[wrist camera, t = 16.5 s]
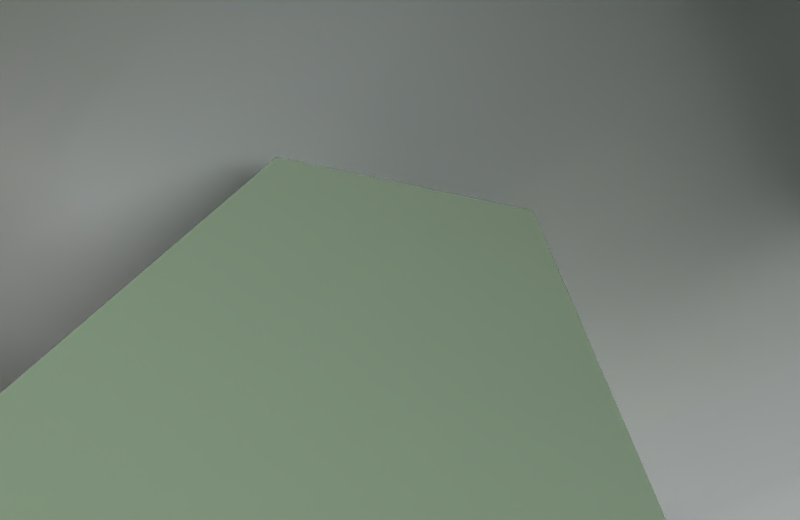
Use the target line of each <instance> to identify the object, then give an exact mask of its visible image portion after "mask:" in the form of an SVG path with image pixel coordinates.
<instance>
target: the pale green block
mask: <svg viewBox="0 0 800 520" xmlns="http://www.w3.org/2000/svg"><path fill="white" fill-rule="evenodd" d="M0 520H666V519H665V516H664V514H663V512H662V509H661V507H660V505H659V502H658V500H657V498H656V495H655V493H654V491H653V488H652V486H651V484H650V482H649V479H648V477H647V475H646V472H645V470H644V468H643V465H642V463H641V461H640V458H639V456H638V454H637V451H636V449H635V447H634V444H633V442H632V440H631V437H630V435H629V433H628V431H627V428H626V426H625V424H624V421H623V419H622V417H621V414H620V412H619V410H618V407H617V405H616V403H615V400H614V398H613V396H612V393H611V391H610V389H609V386H608V384H607V382H606V379H605V377H604V375H603V373H602V370H601V368H600V366H599V363H598V361H597V359H596V356H595V354H594V352H593V349H592V347H591V345H590V342H589V340H588V338H587V335H586V333H585V331H584V328H583V326H582V324H581V321H580V319H579V317H578V315H577V312H576V310H575V308H574V305H573V303H572V301H571V298H570V296H569V294H568V291H567V289H566V287H565V284H564V282H563V280H562V277H561V275H560V273H559V270H558V268H557V266H556V264H555V261H554V259H553V257H552V254H551V252H550V250H549V247H548V245H547V243H546V240H545V238H544V236H543V233H542V231H541V229H540V226H539V224H538V222H537V219H536V217H535V215H534V212H533V210H528V209H524V208H519V207H514V206H509V205H505V204H500V203H495V202H490V201H485V200H481V199H476V198H471V197H466V196H461V195H457V194H452V193H447V192H442V191H438V190H433V189H428V188H423V187H418V186H414V185H409V184H404V183H399V182H395V181H390V180H385V179H380V178H375V177H371V176H366V175H361V174H356V173H352V172H347V171H342V170H337V169H332V168H328V167H323V166H318V165H313V164H309V163H304V162H299V161H294V160H289V159H285V158H280V157H276V158H275V159H274V160H272V161H271V162H270V163H269V164H268V165H267V166H265V167H264V168H263V169H262V170H261V171H260V172H258V173H257V174H256V175H255V176H254V177H253V178H251V179H250V180H249V181H248V182H247V183H246V184H244V185H243V186H242V187H241V188H240V189H238V190H237V191H236V192H235V193H234V194H233V195H231V196H230V197H229V198H228V199H227V200H226V201H224V202H223V203H222V204H221V205H220V206H219V207H217V208H216V209H215V210H214V211H213V212H212V213H210V214H209V215H208V216H207V217H206V218H205V219H203V220H202V221H201V222H200V223H199V224H198V225H196V226H195V227H194V228H193V229H192V230H191V231H189V232H188V233H187V234H186V235H185V236H183V237H182V238H181V239H180V240H179V241H178V242H176V243H175V244H174V245H173V246H172V247H171V248H169V249H168V250H167V251H166V252H165V253H164V254H162V255H161V256H160V257H159V258H158V259H157V260H155V261H154V262H153V263H152V264H151V265H150V266H148V267H147V268H146V269H145V270H144V271H143V272H141V273H140V274H139V275H138V276H137V277H136V278H134V279H133V280H132V281H131V282H130V283H128V284H127V285H126V286H125V287H124V288H123V289H121V290H120V291H119V292H118V293H117V294H116V295H114V296H113V297H112V298H111V299H110V300H109V301H107V302H106V303H105V304H104V305H103V306H102V307H100V308H99V309H98V310H97V311H96V312H95V313H93V314H92V315H91V316H90V317H89V318H88V319H86V320H85V321H84V322H83V323H82V324H81V325H79V326H78V327H77V328H76V329H75V330H73V331H72V332H71V333H70V334H69V335H68V336H66V337H65V338H64V339H63V340H62V341H61V342H59V343H58V344H57V345H56V346H55V347H54V348H52V349H51V350H50V351H49V352H48V353H47V354H45V355H44V356H43V357H42V358H41V359H40V360H38V361H37V362H36V363H35V364H34V365H33V366H31V367H30V368H29V369H28V370H27V371H26V372H24V373H23V374H22V375H21V376H20V377H18V378H17V379H16V380H15V381H14V382H13V383H11V384H10V385H9V386H8V387H7V388H6V389H4V390H3V391H2V392H1V393H0Z"/></svg>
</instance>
